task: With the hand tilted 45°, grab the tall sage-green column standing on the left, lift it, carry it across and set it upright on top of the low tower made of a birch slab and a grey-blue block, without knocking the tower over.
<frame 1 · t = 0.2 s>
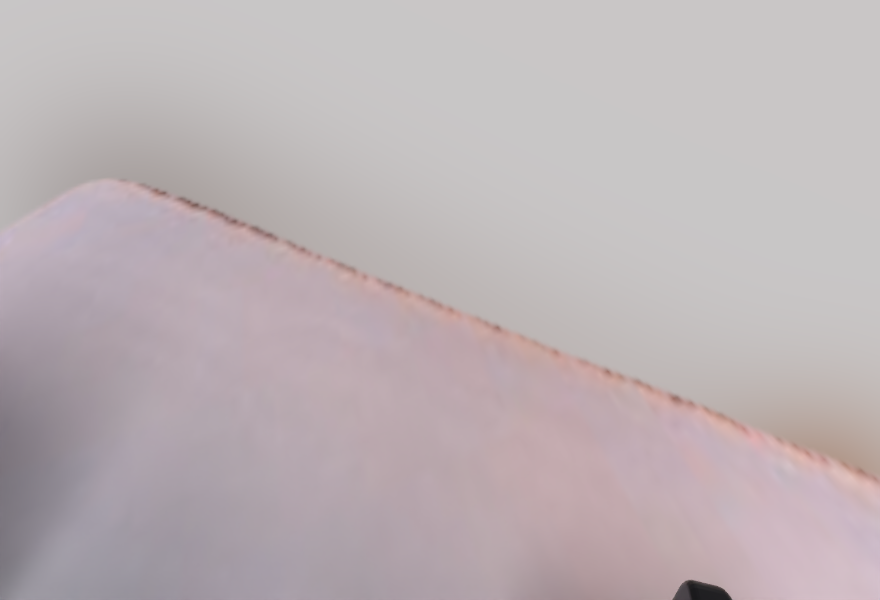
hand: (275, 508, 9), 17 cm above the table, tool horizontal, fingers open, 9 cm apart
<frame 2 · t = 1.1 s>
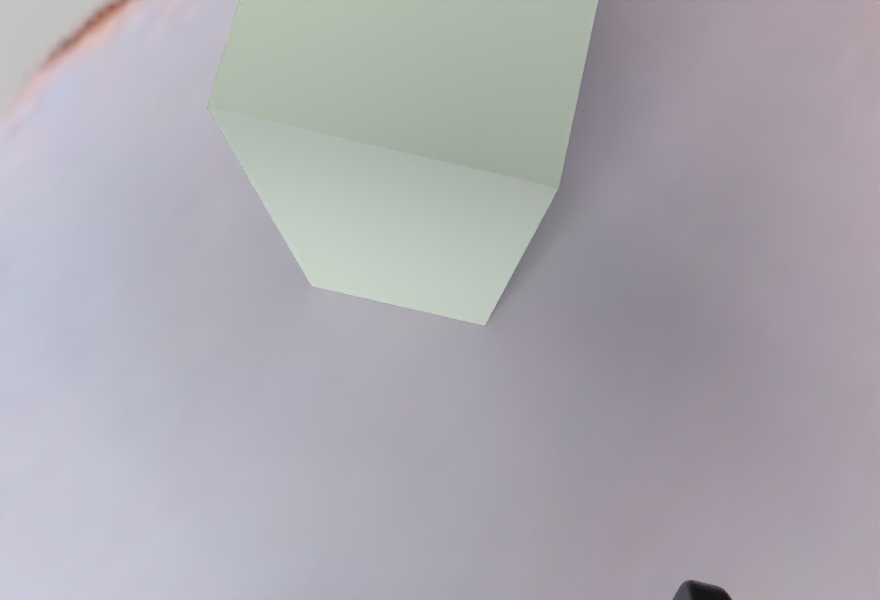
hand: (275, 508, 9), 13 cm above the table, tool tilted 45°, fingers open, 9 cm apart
column: (418, 222, 24), on the table
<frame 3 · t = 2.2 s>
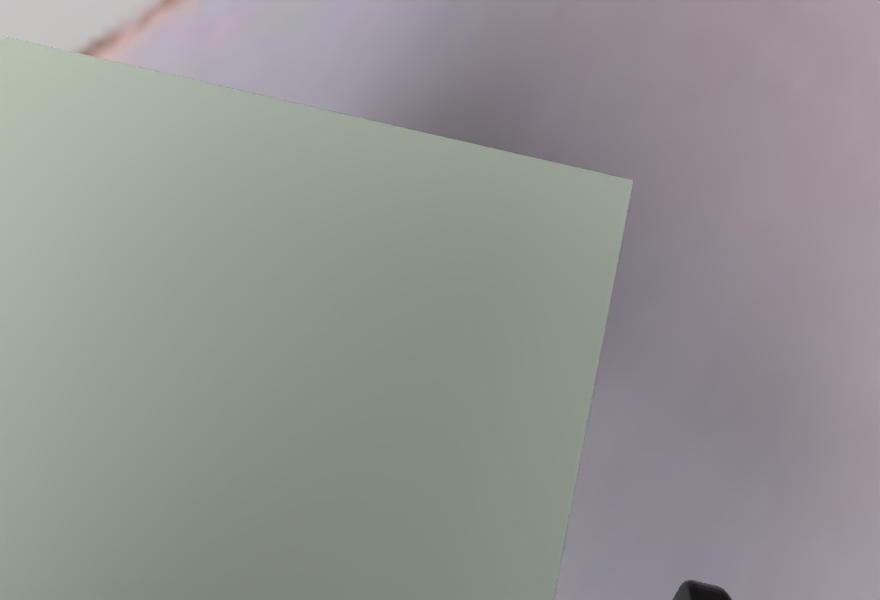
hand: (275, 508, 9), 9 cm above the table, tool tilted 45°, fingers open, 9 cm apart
column: (349, 452, 18), on the table
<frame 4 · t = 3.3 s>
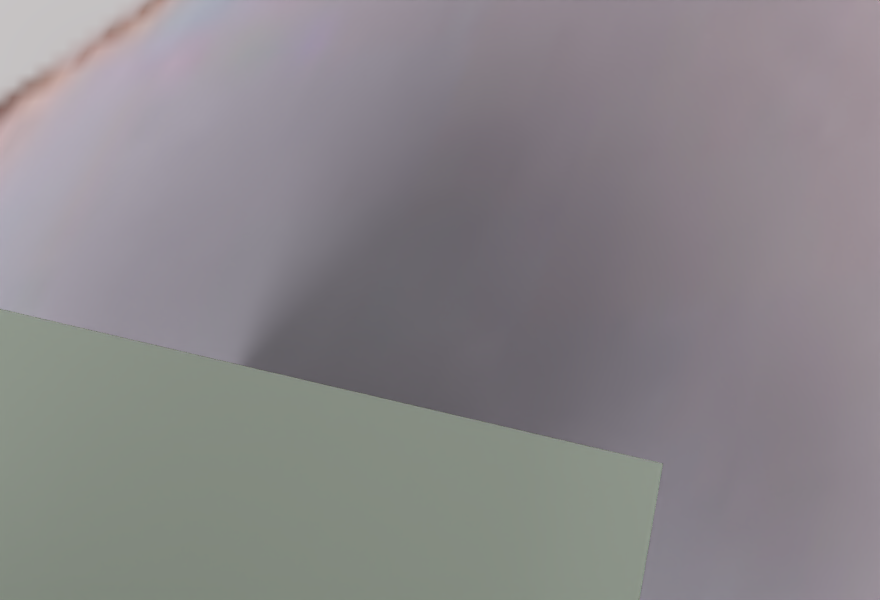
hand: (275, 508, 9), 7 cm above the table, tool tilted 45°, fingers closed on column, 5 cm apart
column: (314, 561, 15), on the table, touching gripper
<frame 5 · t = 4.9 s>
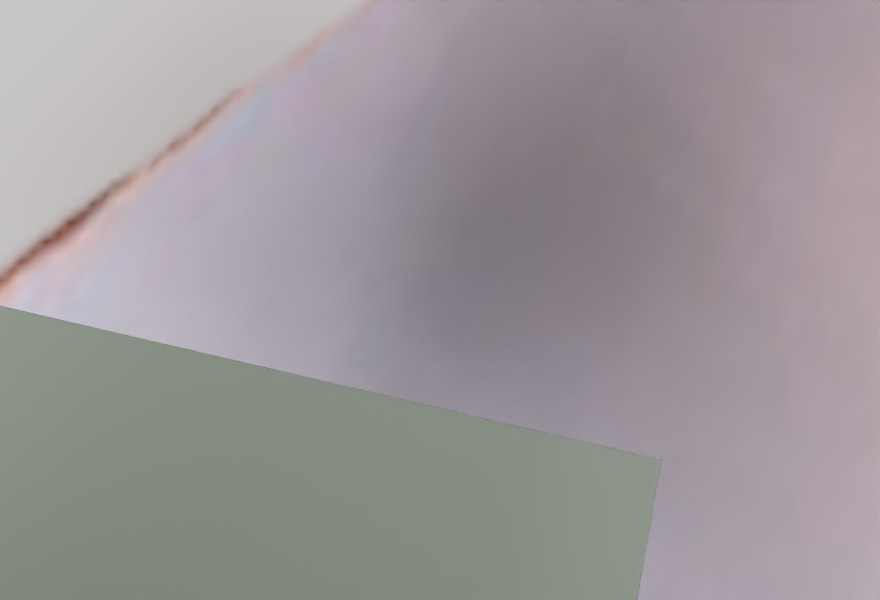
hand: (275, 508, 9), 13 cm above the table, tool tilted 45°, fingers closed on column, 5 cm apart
column: (314, 560, 15), point 7 cm above the table, touching gripper
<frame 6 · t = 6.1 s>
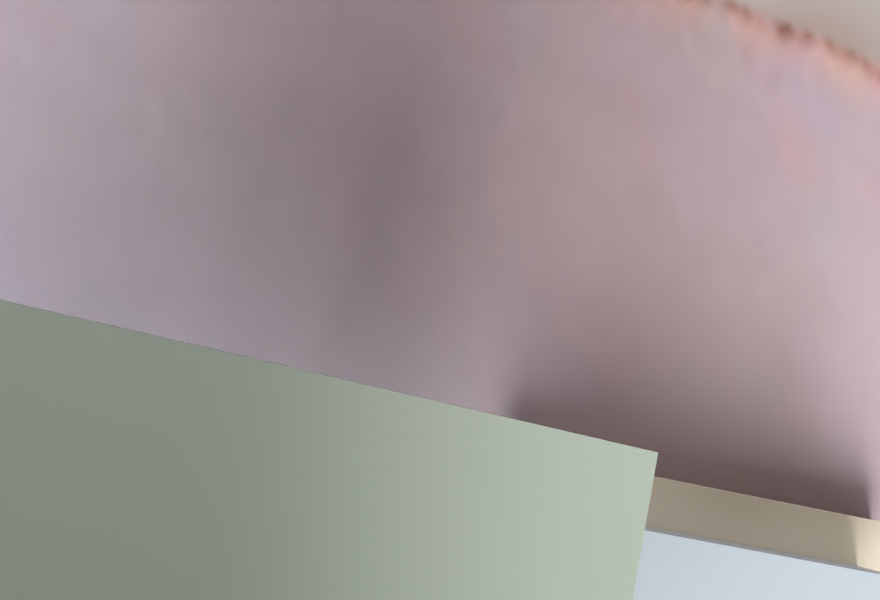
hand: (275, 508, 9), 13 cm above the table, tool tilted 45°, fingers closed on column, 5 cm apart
column: (313, 558, 15), point 7 cm above the table, touching gripper
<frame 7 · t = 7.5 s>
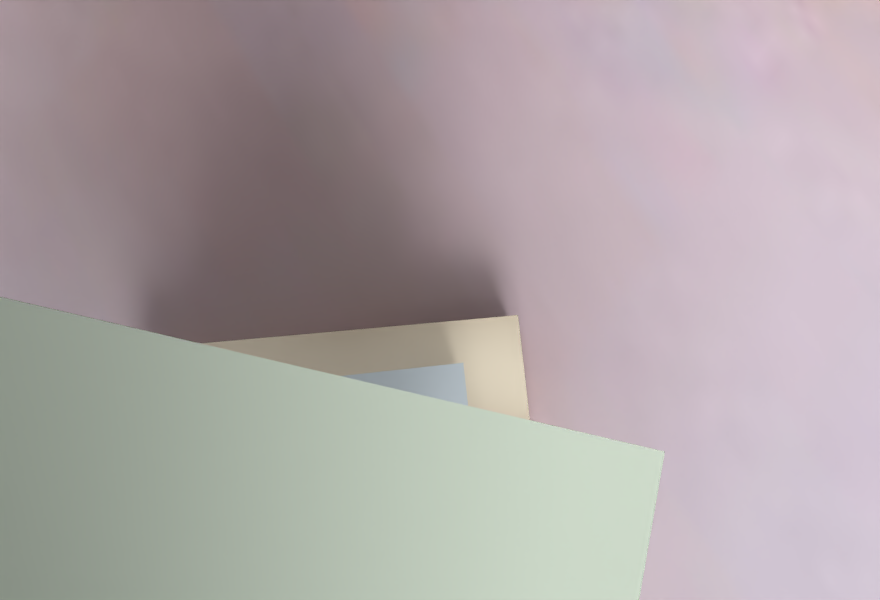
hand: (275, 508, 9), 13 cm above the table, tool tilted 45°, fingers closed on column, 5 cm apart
tower base: (346, 524, 23), on the table, touching tower top
column: (315, 558, 15), point 7 cm above the table, touching gripper
tower top: (332, 529, 20), point 2 cm above the table, touching tower base
when the fingers open (13 cm above the table, at t = 8.4 s): column drops 2 cm, resting on tower top.
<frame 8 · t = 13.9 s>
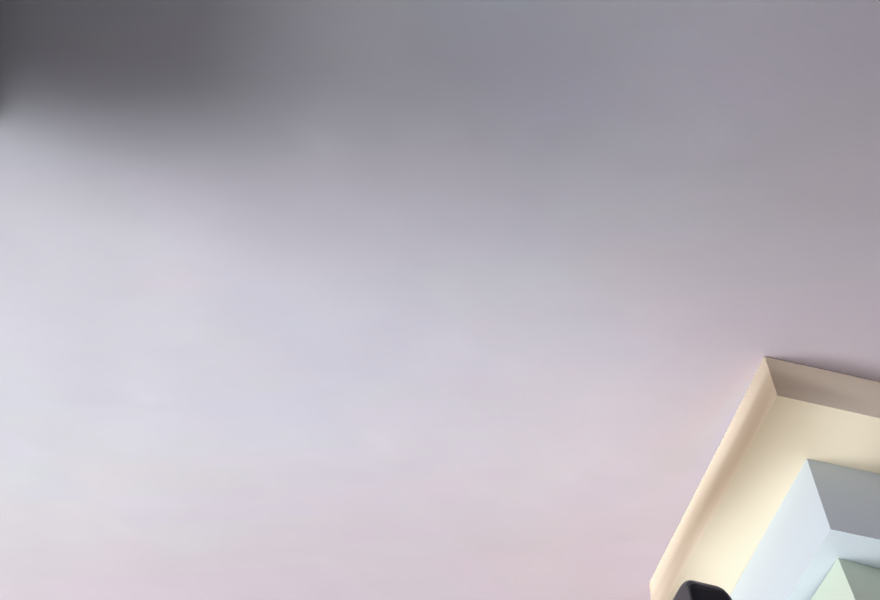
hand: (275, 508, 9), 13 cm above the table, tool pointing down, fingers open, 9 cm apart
tower base: (853, 498, 26), on the table, touching tower top
tower top: (877, 569, 24), point 2 cm above the table, touching column, tower base
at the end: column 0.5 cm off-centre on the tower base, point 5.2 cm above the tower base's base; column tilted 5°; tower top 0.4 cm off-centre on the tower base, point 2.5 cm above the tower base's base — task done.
